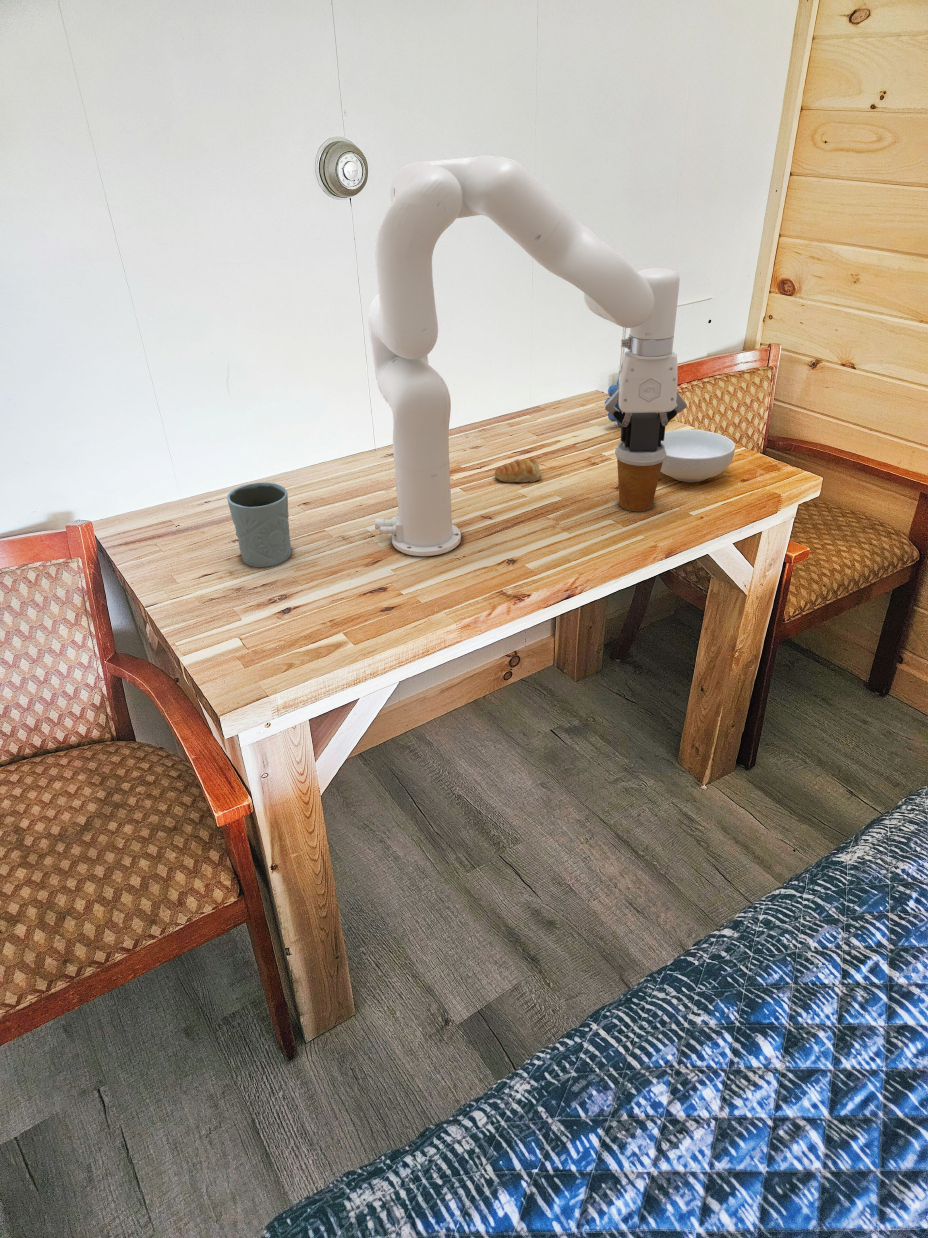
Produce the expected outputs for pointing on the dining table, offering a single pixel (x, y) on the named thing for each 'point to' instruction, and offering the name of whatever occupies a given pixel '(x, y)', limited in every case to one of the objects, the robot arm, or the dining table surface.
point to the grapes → (611, 391)
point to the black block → (644, 431)
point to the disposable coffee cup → (638, 476)
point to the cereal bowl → (696, 454)
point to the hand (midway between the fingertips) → (641, 443)
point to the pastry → (519, 471)
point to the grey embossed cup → (261, 523)
